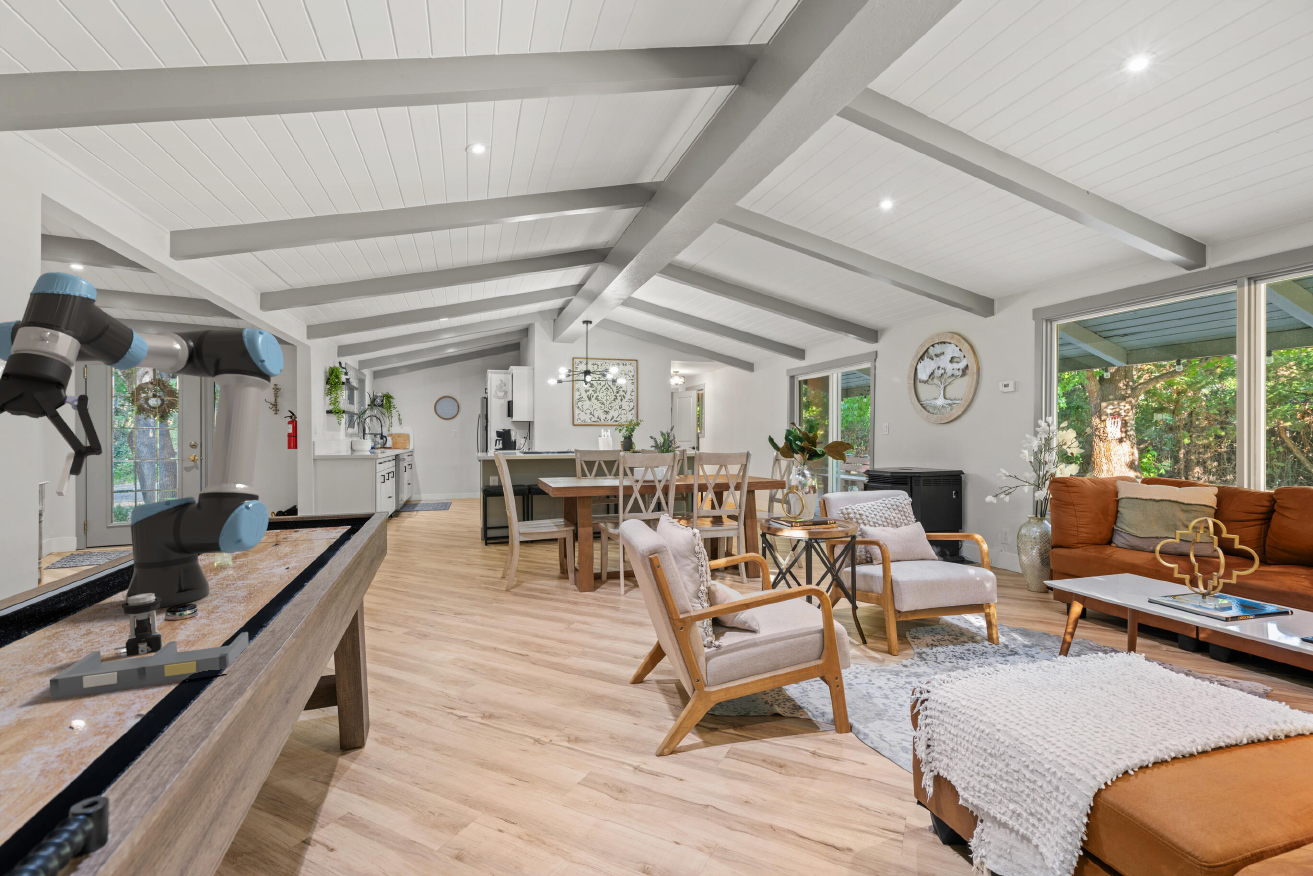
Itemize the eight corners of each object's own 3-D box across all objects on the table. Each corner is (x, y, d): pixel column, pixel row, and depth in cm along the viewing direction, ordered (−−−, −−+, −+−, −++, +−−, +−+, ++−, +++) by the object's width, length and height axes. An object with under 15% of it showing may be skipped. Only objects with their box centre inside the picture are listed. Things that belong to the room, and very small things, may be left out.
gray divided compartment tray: (93, 669, 102) (92, 651, 102) (248, 648, 109) (247, 631, 109) (49, 700, 90) (48, 680, 90) (226, 675, 97) (225, 656, 97)
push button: (111, 662, 105) (108, 604, 104) (118, 652, 109) (114, 596, 109) (161, 653, 108) (158, 596, 108) (166, 644, 113) (162, 590, 112)
